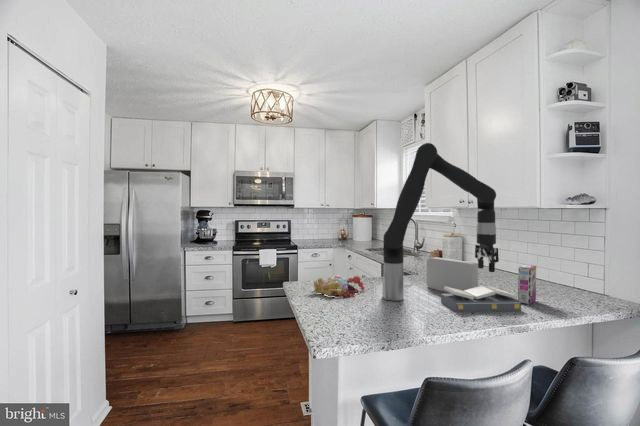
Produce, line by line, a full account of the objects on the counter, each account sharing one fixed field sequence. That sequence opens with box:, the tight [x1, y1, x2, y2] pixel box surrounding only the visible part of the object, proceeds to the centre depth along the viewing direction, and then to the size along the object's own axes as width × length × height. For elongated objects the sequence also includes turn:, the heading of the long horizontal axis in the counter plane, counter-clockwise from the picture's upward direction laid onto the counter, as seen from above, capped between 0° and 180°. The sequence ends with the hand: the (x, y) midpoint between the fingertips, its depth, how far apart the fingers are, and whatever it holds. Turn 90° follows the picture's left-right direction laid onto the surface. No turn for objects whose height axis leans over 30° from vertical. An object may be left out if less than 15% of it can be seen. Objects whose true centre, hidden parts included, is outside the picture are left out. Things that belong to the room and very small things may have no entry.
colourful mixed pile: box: [312, 274, 365, 299], centre depth 165 cm, size 25×24×9 cm
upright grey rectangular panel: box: [426, 256, 479, 294], centre depth 166 cm, size 27×7×17 cm, turn 33°
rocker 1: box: [444, 286, 474, 299], centre depth 139 cm, size 8×11×1 cm
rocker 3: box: [484, 285, 518, 300], centre depth 140 cm, size 8×11×1 cm
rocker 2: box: [464, 285, 496, 299], centre depth 140 cm, size 8×11×1 cm
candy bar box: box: [517, 264, 537, 306], centre depth 147 cm, size 11×5×16 cm, turn 134°
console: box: [440, 293, 522, 313], centre depth 140 cm, size 28×14×5 cm, turn 92°
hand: (486, 270), depth 140 cm, fingers open, 8 cm apart
